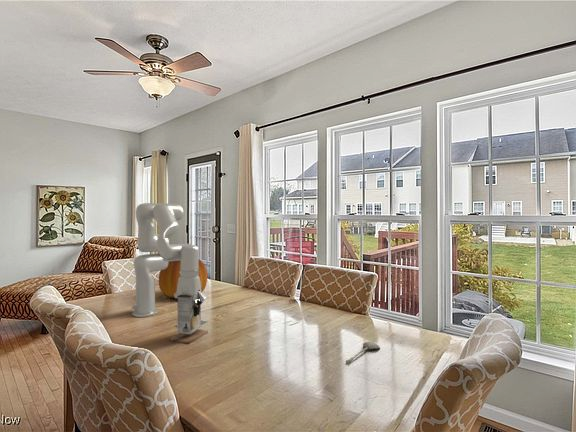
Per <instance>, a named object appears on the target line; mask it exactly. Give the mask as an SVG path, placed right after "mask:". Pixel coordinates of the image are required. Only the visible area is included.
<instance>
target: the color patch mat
mask: <svg viewBox="0 0 576 432" xmlns="http://www.w3.org/2000/svg"><path fill="white" fill-rule="evenodd" d="M207 323H208V321H206V320H201V326H202V325H205V324H207ZM175 327H177V328H178V324H176V325H175Z"/></svg>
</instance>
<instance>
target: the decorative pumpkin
mask: <svg viewBox="0 0 576 432" xmlns="http://www.w3.org/2000/svg"><path fill="white" fill-rule="evenodd" d="M180 270H181V260H179V261H170V262H169V263H168V267H167V268H166V269H165V270H160V271H159V275H158V285H159V286H158V287H159V289H160V291H161V293H162V295H165V296H167V297H168V298H175V297H174V294H175V293H176V292H177V284H178V279H179V277H180V275H181V273H179V271H180ZM198 277H200V282H201V293H202V294H203V292H204V290H205V289H206V287H207V285H208V284H207V283H208V271H207V267H206V265H205V263H204V262H203V261H202V260H201V259H200V258H199V262H198ZM175 299H176V298H175Z"/></svg>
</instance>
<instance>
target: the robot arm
mask: <svg viewBox="0 0 576 432" xmlns="http://www.w3.org/2000/svg"><path fill="white" fill-rule="evenodd" d="M183 217H184V209H183V207H182V206H181V204H179V203H161V202H160V203H156V202H143V203H140V204H138V205H137V207H136V209H135V218H136V221H137V226H138V227H137V228H138V230H137V250H138V251H139V252H140V253H145V254H141V255H137V256H136V257H135V258H134V260H133V268H134V273H135V303H134V304H132V306H130V308H131V309H132V310H134V311H132V316H133V317H137V318H145V317H151V316H154V315H156V314H159V309H158V308H156V278H155V276H153V275H152V273H153V272H160V271H161V270H165V269H166V268H167V267H168V263H169V262H170V261H179V260H181V270H180V271H179V273H181V275H180V277H179V279H178V284H177V292H176V293H175V294H174V297H175V301H176V302H177V303H178V297H177V296H179V295H188V296H192V301H194V305H195V307H194V316H197V315H199V313H200V305H202V304H203V303H204V302H205V300H206V296H205V295H204V294H203V292H202V293H201V282H200V277H198V262H199V259H200V258H199V254H200V253H199V246H197V245H193V244H191V243H173V244H172V243H171V244H170V239H169V237H171V236H173V235H175V234H176V233H177V232H178V231H179V230H180V225H179V223H178V221H180V220H182V219H183ZM153 220H155V222H156V224H157V226H158V228H159V230H160V232H159V233H156V231H157V229H156V228H157V227H156V224H155V222H154V221H153ZM153 252H157V253H153ZM147 253H148V254H147ZM200 298H201V299H200ZM199 299H200V300H199ZM196 301H197V302H196Z"/></svg>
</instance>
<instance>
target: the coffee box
mask: <svg viewBox="0 0 576 432" xmlns="http://www.w3.org/2000/svg"><path fill="white" fill-rule="evenodd" d="M177 297H178V302H177V325H178V327H177V334H179V333H183V334H191V333H193V332H194V331H195V330H197V329H198V330H199V328H200V327H201V326H202V325H201V321H202V320H201V318H202V315H201V313H202V311H201V308H202V306H201V305H202V304H201V305H200V313H199V315H197V316H194V307H195V305H194V301H192V296H188V295H179V296H177ZM200 299H201V298H200ZM200 299H199V300H200ZM196 302H197V301H196Z"/></svg>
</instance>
